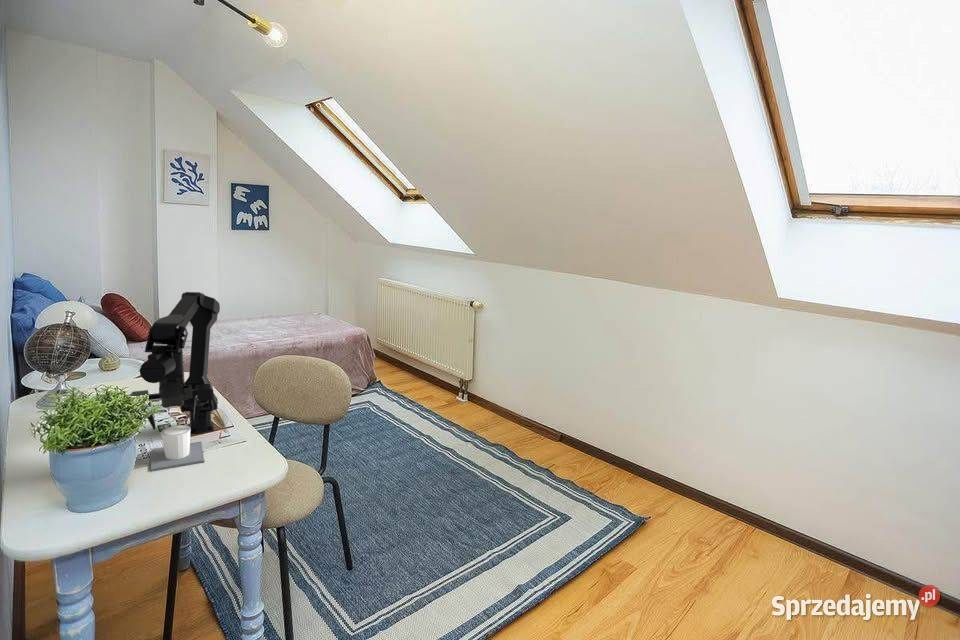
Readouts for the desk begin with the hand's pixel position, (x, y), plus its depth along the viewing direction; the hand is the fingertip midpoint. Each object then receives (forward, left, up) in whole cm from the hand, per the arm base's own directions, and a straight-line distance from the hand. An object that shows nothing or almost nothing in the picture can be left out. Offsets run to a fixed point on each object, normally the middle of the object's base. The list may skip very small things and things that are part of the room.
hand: (175, 426), depth 142 cm
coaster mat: (0, 0, -9) cm, 9 cm away
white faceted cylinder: (0, 0, -8) cm, 8 cm away
